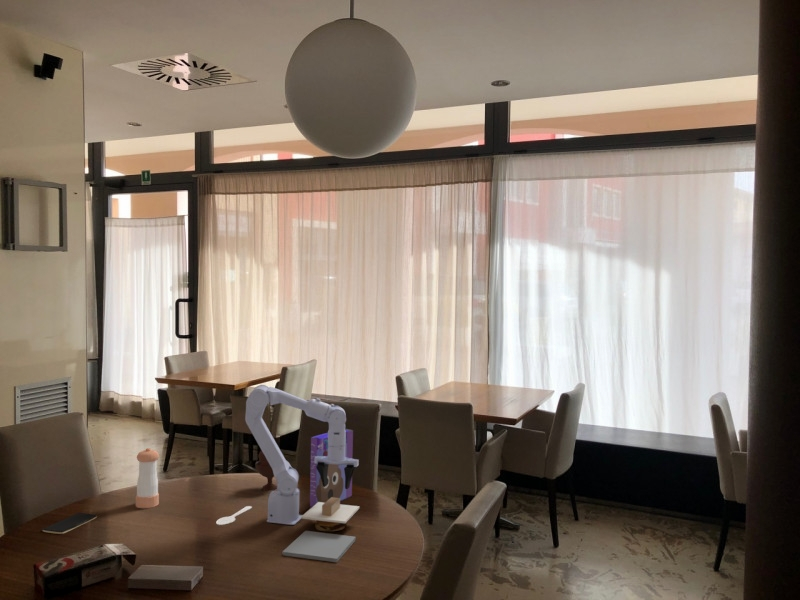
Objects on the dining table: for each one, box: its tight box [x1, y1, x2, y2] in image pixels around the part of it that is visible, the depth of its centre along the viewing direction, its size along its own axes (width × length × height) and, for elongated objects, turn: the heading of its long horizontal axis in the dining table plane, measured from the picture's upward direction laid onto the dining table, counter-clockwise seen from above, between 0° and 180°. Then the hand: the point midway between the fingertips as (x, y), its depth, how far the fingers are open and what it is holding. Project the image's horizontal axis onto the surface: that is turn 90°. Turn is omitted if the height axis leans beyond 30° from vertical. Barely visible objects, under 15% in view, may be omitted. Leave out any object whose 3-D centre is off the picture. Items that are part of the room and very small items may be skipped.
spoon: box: [215, 505, 253, 526], centre depth 202 cm, size 5×18×1 cm, turn 161°
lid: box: [300, 497, 360, 524], centre depth 193 cm, size 14×14×4 cm
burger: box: [314, 520, 347, 533], centre depth 193 cm, size 10×9×5 cm
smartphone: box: [42, 512, 98, 535], centre depth 192 cm, size 7×1×15 cm
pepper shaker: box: [135, 447, 160, 509], centre depth 211 cm, size 7×7×19 cm
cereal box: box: [309, 428, 354, 509], centre depth 217 cm, size 17×5×24 cm, turn 148°
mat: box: [282, 530, 357, 563], centre depth 178 cm, size 16×16×1 cm
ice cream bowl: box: [254, 449, 277, 492], centre depth 231 cm, size 11×11×15 cm
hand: (336, 487), depth 200 cm, fingers open, 7 cm apart
